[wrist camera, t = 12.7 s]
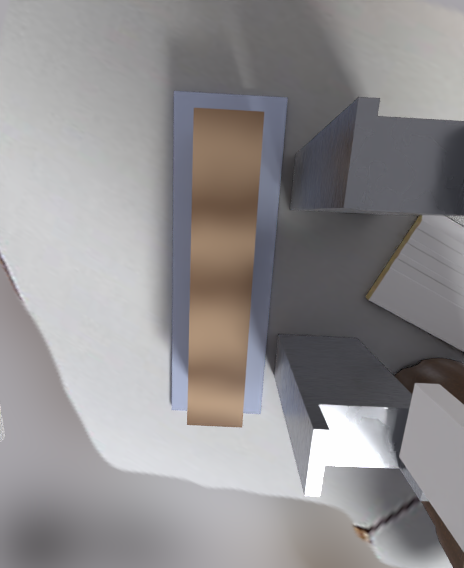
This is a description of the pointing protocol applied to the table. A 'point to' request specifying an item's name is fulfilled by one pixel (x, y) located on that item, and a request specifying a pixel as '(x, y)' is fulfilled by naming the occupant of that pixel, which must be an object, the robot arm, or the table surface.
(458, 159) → the stand
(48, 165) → the table surface
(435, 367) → the plant pot
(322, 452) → the stand
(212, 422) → the oak rail
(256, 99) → the felt pad
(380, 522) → the table surface
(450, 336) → the baseboard molding
